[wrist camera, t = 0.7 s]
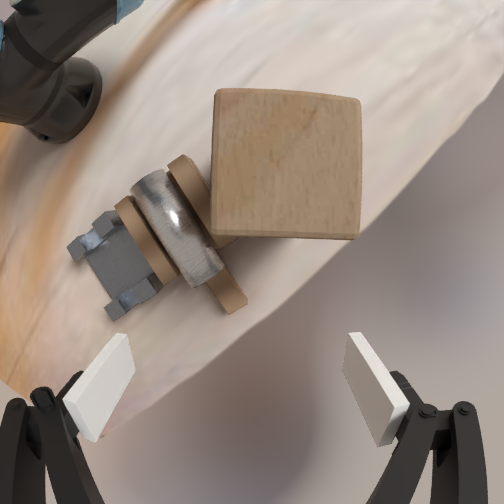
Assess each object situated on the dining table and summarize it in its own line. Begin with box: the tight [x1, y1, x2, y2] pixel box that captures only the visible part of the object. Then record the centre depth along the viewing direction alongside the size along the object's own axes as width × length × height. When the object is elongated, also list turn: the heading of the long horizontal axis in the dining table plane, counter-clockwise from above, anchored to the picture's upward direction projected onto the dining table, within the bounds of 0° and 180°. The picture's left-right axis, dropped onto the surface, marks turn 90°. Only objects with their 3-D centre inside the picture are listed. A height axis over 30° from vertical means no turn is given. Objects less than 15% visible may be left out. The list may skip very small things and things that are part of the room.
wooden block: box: [210, 88, 362, 240], centre depth 26 cm, size 10×10×20 cm
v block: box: [67, 210, 164, 321], centre depth 37 cm, size 13×9×4 cm
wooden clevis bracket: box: [114, 154, 247, 314], centre depth 36 cm, size 20×11×5 cm, turn 32°
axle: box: [130, 169, 225, 288], centre depth 33 cm, size 14×5×5 cm, turn 32°
